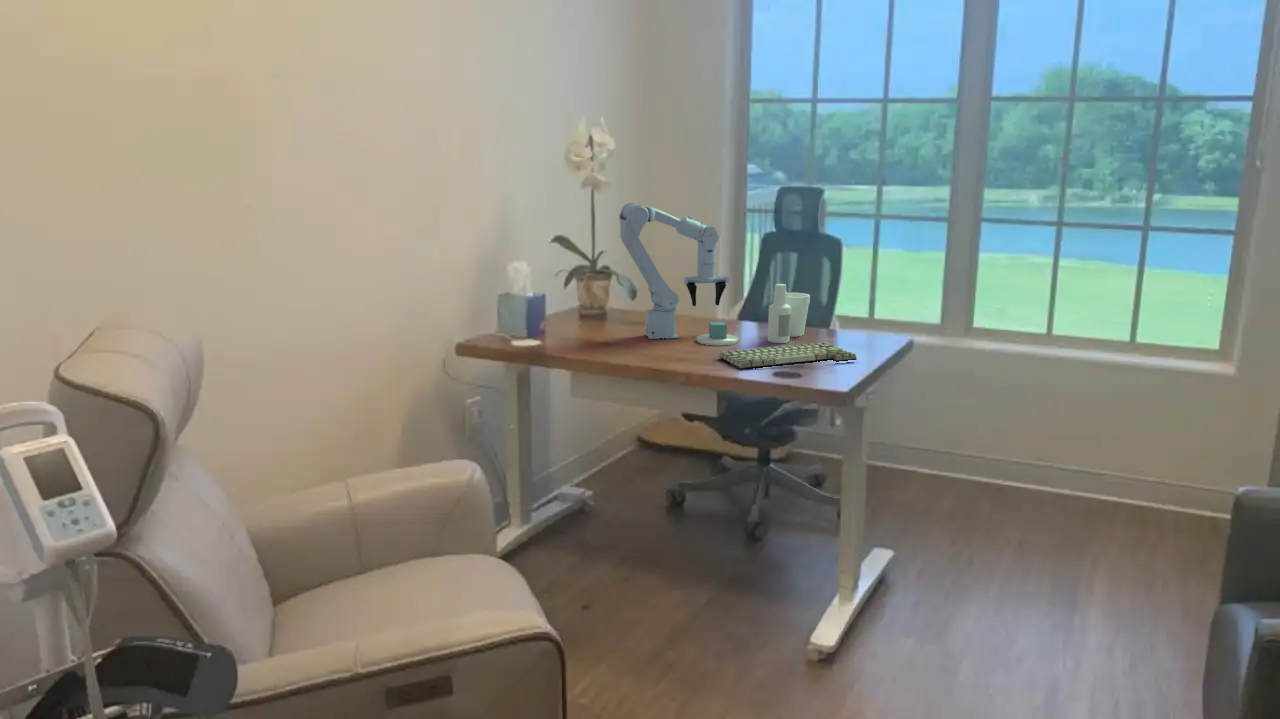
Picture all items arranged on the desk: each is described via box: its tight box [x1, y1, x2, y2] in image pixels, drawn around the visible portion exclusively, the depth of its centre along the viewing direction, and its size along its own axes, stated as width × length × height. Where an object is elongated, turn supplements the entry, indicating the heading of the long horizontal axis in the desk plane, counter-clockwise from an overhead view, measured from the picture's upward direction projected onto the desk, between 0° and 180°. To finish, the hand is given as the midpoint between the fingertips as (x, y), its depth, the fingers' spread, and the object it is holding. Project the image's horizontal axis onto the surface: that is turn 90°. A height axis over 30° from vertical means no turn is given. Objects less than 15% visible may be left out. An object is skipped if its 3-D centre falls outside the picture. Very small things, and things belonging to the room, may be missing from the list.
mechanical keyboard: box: [717, 341, 858, 370], centre depth 294 cm, size 38×19×3 cm, turn 111°
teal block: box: [708, 321, 728, 339], centre depth 317 cm, size 4×4×4 cm
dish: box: [696, 333, 739, 347], centre depth 318 cm, size 13×13×1 cm
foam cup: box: [786, 292, 811, 338], centre depth 327 cm, size 10×9×13 cm
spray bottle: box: [767, 283, 791, 344], centre depth 317 cm, size 7×7×18 cm
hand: (705, 305), depth 328 cm, fingers open, 7 cm apart
